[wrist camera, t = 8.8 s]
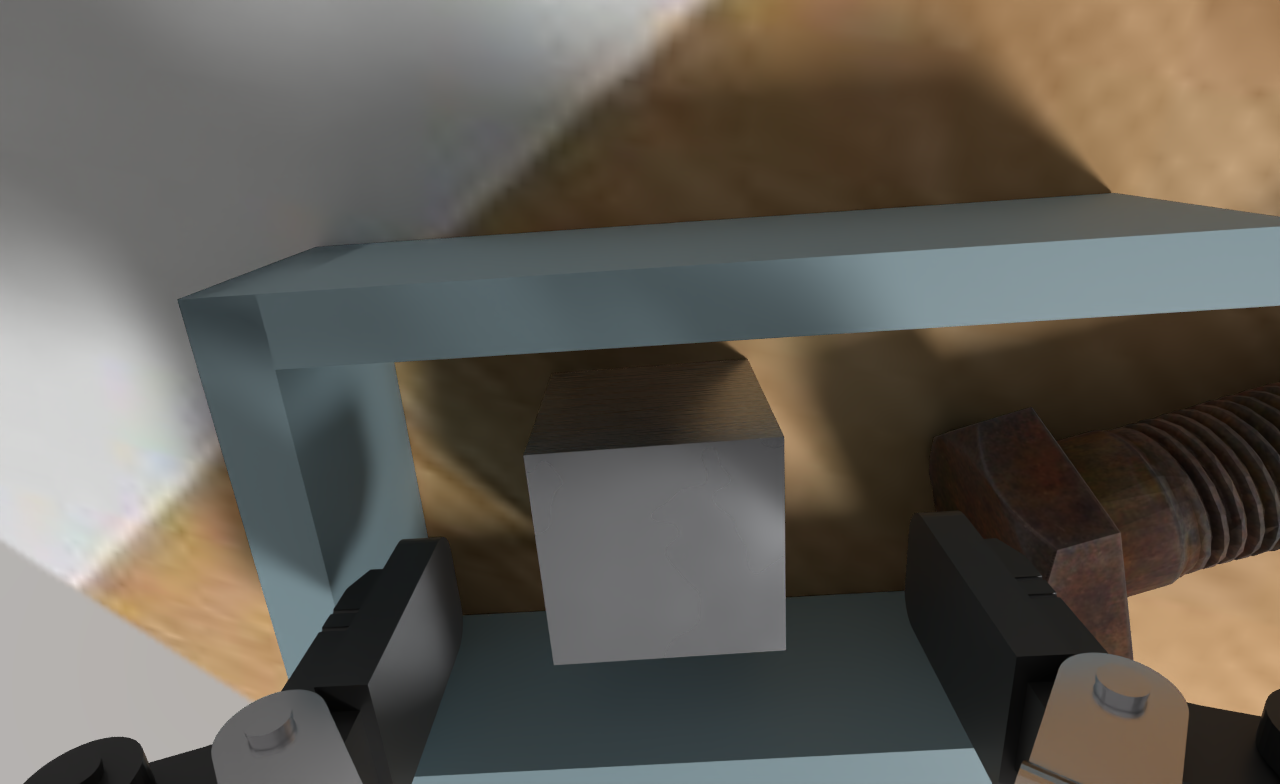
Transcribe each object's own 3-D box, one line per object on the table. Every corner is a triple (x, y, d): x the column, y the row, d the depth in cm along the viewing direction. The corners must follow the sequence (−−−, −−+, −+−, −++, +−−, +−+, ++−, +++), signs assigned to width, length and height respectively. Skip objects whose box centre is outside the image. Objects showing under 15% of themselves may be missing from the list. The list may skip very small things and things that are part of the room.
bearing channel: (315, 246, 16) (177, 299, 11) (1114, 193, 15) (1325, 223, 11) (406, 656, 19) (331, 825, 15) (1047, 620, 19) (1181, 783, 14)
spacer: (552, 372, 17) (523, 455, 13) (746, 358, 17) (784, 436, 12) (573, 540, 18) (554, 665, 14) (751, 528, 18) (785, 650, 14)
